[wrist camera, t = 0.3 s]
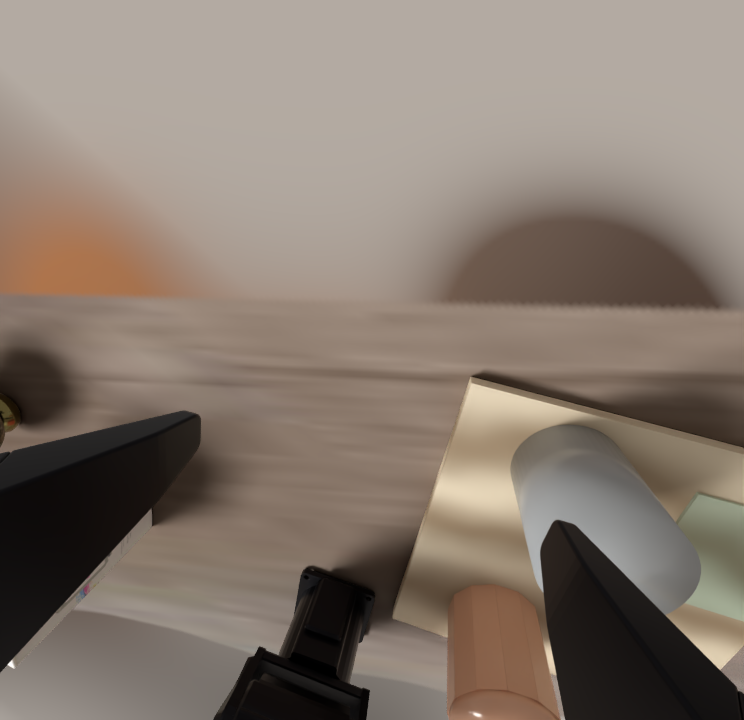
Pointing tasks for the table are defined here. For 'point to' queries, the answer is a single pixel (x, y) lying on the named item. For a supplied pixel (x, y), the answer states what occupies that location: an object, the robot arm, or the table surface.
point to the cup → (8, 416)
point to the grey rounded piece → (602, 510)
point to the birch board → (505, 530)
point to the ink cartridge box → (87, 585)
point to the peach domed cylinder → (497, 658)
